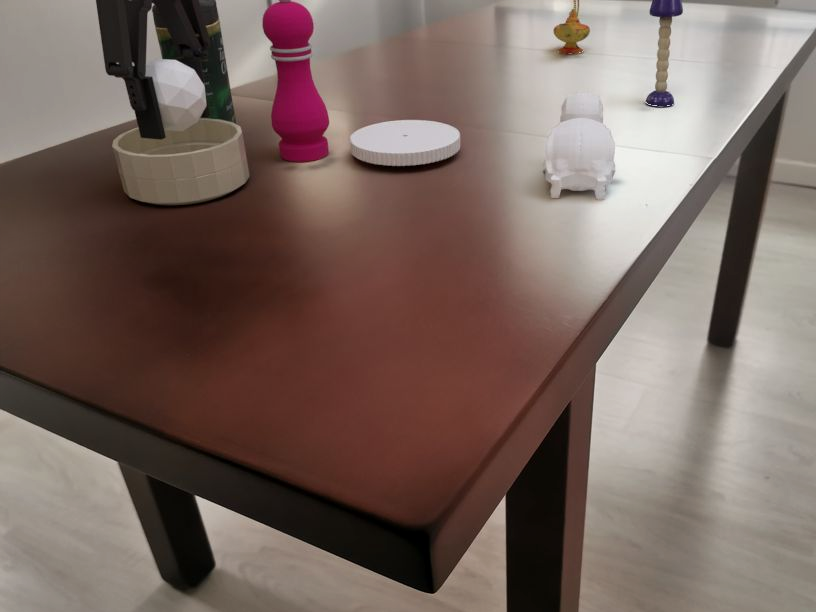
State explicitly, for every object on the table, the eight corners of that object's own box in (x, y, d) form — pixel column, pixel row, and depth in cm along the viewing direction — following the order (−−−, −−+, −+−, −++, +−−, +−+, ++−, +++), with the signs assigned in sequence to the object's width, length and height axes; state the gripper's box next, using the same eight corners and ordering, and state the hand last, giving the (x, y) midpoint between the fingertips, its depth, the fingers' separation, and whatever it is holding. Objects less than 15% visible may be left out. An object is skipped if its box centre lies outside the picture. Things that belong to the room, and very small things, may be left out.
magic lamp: (542, 63, 145) (544, -3, 140) (559, 42, 160) (561, -18, 154) (580, 65, 144) (583, -2, 138) (594, 44, 158) (597, -17, 153)
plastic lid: (331, 166, 100) (329, 146, 99) (381, 134, 111) (380, 116, 110) (434, 179, 96) (433, 158, 94) (476, 144, 107) (476, 125, 105)
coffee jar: (234, 144, 109) (208, -5, 99) (174, 147, 108) (141, -2, 98) (241, 123, 117) (218, -16, 107) (185, 127, 116) (157, -13, 106)
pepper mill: (295, 167, 100) (271, -6, 90) (266, 154, 105) (240, -13, 94) (343, 154, 104) (326, -14, 94) (313, 142, 109) (294, -20, 98)
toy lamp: (652, 109, 119) (665, -14, 110) (634, 102, 123) (645, -18, 114) (679, 105, 121) (693, -16, 112) (661, 98, 124) (673, -20, 115)
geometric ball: (183, 146, 95) (196, 81, 96) (209, 135, 89) (222, 66, 90) (117, 124, 91) (131, 55, 91) (139, 111, 84) (153, 38, 85)
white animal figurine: (614, 221, 92) (615, 135, 100) (620, 163, 85) (621, 76, 94) (538, 218, 93) (546, 134, 101) (539, 160, 86) (547, 75, 95)
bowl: (99, 201, 92) (84, 150, 89) (173, 161, 103) (163, 114, 100) (206, 214, 88) (195, 161, 85) (271, 171, 99) (264, 122, 96)
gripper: (86, -96, 70) (147, 158, 83) (218, -109, 87) (253, 104, 99) (18, -95, 73) (87, 152, 85) (159, -108, 89) (200, 100, 101)
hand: (176, 126), depth 92 cm, fingers closed on geometric ball, 8 cm apart
